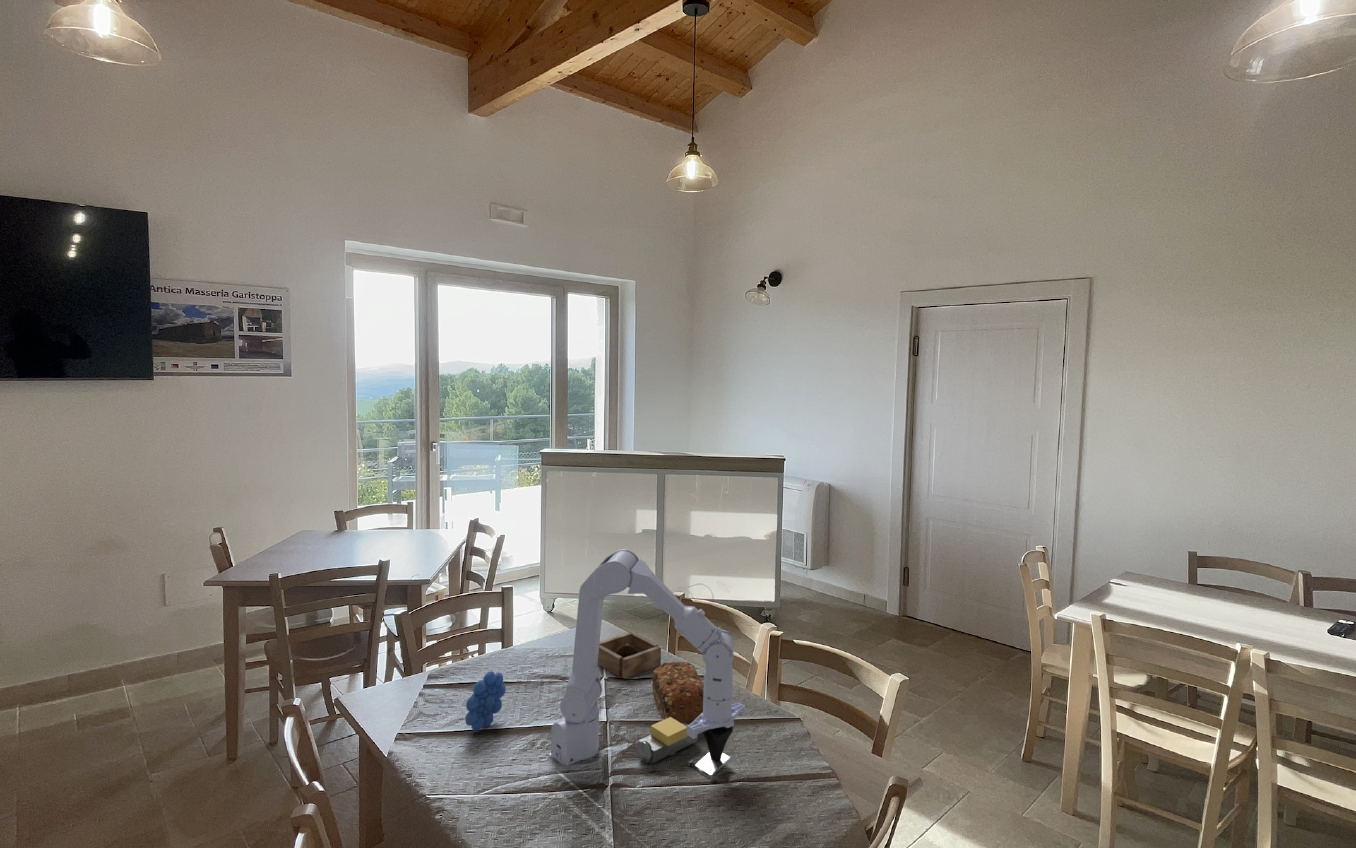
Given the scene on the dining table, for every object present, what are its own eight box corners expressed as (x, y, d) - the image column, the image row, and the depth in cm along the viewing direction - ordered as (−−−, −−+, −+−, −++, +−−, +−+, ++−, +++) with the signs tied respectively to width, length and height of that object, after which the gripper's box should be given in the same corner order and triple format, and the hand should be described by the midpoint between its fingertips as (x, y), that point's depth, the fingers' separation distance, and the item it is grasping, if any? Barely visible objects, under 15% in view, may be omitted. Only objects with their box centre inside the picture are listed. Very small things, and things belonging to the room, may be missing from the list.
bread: (710, 733, 152) (712, 689, 151) (663, 737, 150) (664, 693, 149) (692, 692, 171) (693, 654, 170) (650, 696, 168) (650, 657, 168)
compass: (635, 658, 189) (635, 633, 189) (638, 671, 181) (638, 644, 181) (606, 660, 188) (606, 634, 187) (607, 673, 180) (608, 646, 180)
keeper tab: (710, 782, 133) (709, 778, 133) (690, 769, 137) (689, 765, 137) (732, 761, 137) (732, 757, 137) (712, 749, 141) (712, 745, 141)
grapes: (490, 709, 160) (490, 660, 159) (512, 717, 157) (512, 666, 156) (452, 733, 150) (451, 680, 149) (475, 741, 147) (474, 687, 146)
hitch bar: (688, 801, 128) (689, 774, 128) (635, 763, 140) (635, 738, 140) (735, 774, 137) (736, 749, 136) (681, 740, 149) (681, 717, 148)
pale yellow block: (667, 762, 139) (668, 736, 138) (650, 751, 143) (651, 725, 142) (687, 752, 142) (687, 727, 142) (669, 741, 146) (670, 717, 146)
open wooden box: (622, 679, 177) (623, 660, 176) (592, 661, 186) (592, 644, 186) (662, 664, 186) (662, 646, 185) (631, 648, 195) (631, 631, 195)
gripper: (705, 714, 129) (703, 782, 130) (757, 690, 138) (754, 755, 140) (680, 699, 134) (678, 765, 135) (731, 678, 144) (729, 740, 145)
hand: (715, 759), depth 138 cm, fingers closed, pressing on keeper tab
